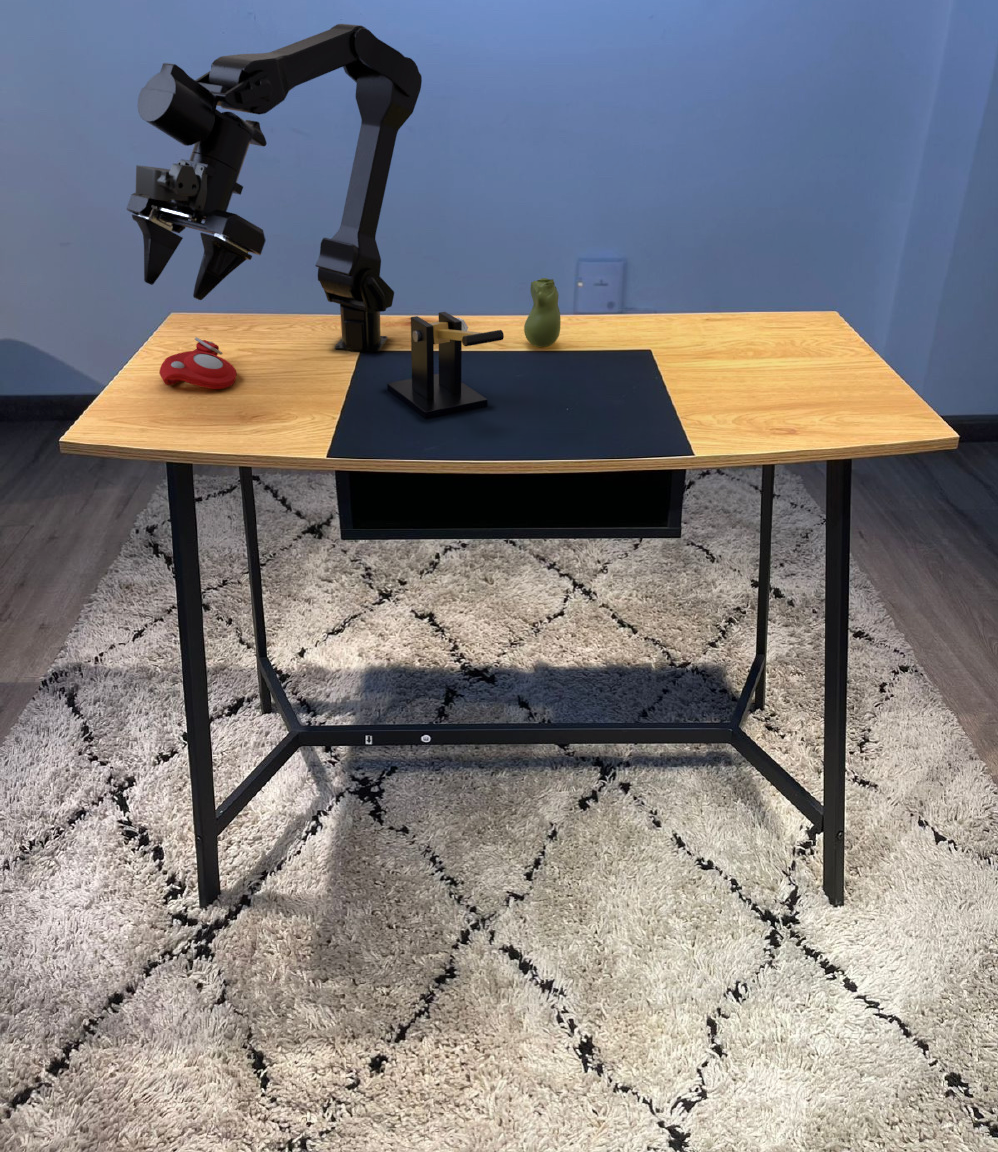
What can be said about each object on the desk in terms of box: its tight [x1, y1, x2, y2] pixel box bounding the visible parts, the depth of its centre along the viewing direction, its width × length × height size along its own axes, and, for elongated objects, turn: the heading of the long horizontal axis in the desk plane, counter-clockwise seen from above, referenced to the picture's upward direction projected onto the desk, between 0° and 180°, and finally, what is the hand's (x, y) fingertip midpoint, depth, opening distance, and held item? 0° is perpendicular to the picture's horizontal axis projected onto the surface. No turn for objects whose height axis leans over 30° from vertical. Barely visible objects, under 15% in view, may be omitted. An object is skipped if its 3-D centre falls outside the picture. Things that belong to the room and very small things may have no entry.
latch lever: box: [428, 321, 505, 347], centre depth 124 cm, size 14×5×2 cm, turn 31°
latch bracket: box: [386, 311, 488, 420], centre depth 131 cm, size 11×9×11 cm
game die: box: [456, 317, 469, 331], centre depth 153 cm, size 4×4×3 cm
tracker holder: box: [159, 336, 237, 390], centre depth 137 cm, size 12×4×10 cm
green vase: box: [523, 277, 562, 348], centre depth 150 cm, size 6×5×10 cm
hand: (172, 290), depth 121 cm, fingers open, 9 cm apart
